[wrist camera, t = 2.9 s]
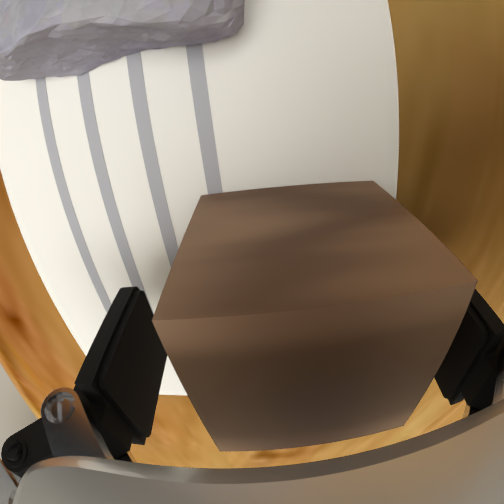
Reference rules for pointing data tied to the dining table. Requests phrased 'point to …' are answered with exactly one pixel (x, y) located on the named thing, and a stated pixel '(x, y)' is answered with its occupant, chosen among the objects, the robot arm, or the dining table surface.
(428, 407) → the dining table surface
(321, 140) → the letter
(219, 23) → the stone block
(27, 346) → the dining table surface
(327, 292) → the walnut cube
